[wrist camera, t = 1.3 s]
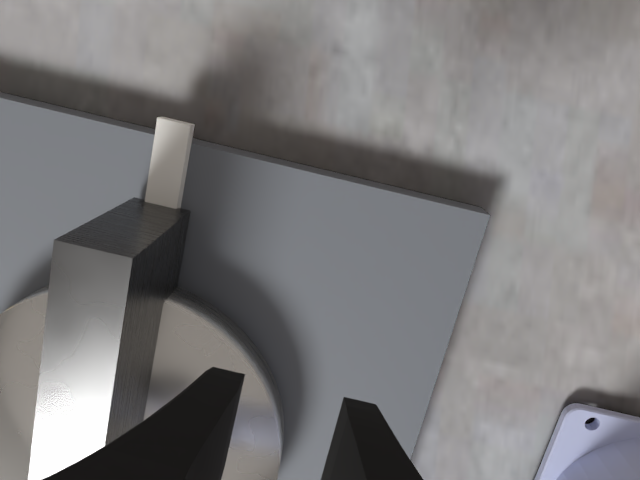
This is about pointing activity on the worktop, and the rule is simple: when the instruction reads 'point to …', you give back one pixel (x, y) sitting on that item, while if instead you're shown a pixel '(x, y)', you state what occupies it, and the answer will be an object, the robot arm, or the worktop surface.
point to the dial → (122, 350)
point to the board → (260, 257)
